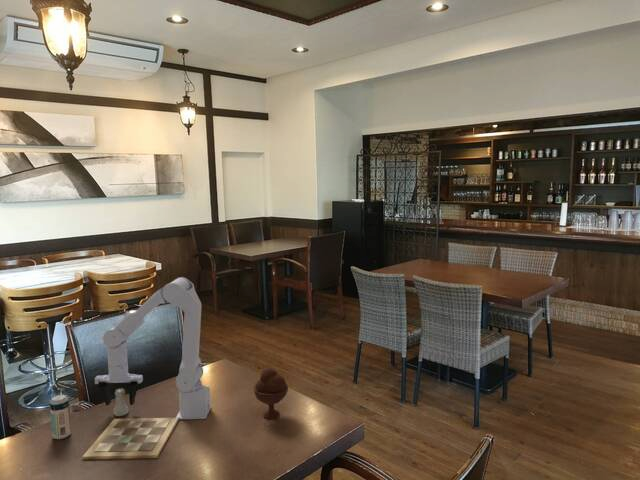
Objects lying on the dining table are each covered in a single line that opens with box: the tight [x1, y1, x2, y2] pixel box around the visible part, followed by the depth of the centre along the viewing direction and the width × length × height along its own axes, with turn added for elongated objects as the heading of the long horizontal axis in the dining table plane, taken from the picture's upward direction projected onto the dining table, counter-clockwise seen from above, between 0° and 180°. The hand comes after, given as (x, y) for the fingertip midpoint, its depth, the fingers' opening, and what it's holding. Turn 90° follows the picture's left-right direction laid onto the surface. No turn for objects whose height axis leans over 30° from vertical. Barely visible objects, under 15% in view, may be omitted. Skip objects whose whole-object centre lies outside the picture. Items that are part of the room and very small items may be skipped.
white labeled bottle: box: [49, 393, 72, 440], centre depth 133 cm, size 5×5×12 cm
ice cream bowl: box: [253, 367, 289, 420], centre depth 144 cm, size 11×11×15 cm
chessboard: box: [82, 417, 180, 460], centre depth 132 cm, size 20×20×1 cm
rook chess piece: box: [113, 387, 130, 417], centre depth 147 cm, size 4×4×8 cm
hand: (120, 403), depth 147 cm, fingers open, 7 cm apart
